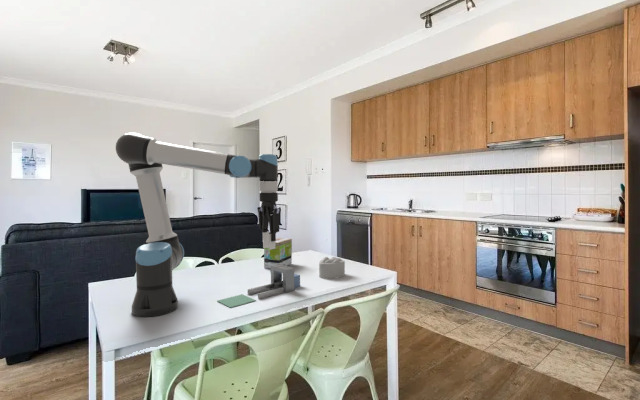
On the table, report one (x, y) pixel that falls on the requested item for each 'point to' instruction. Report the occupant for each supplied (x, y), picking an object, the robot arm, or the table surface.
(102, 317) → the table surface
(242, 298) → the mat
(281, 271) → the grey stand
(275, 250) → the tea box
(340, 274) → the lumpy-topped squat cylinder
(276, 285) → the plug
